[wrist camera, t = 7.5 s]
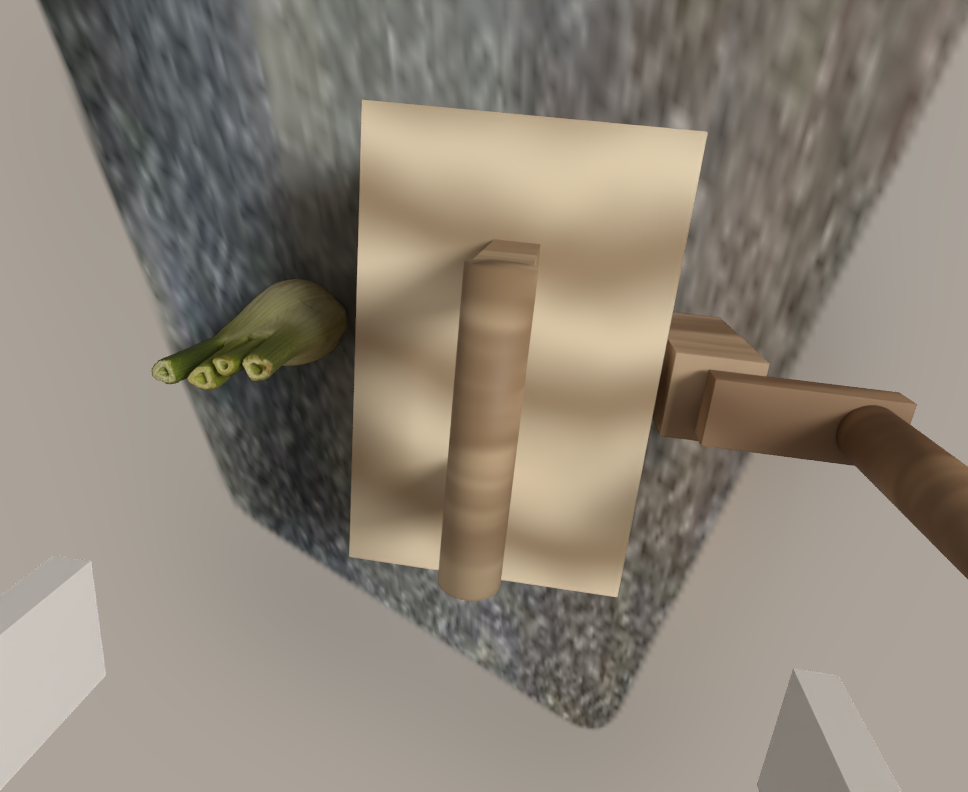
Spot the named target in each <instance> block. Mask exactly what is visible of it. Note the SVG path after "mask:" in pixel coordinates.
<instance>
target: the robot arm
mask: <svg viewBox="0 0 968 792" xmlns="http://www.w3.org/2000/svg"><path fill="white" fill-rule="evenodd" d="M105 675H106V672H105V664H104V656H103V649H102V642H101V633H100V626H99V618H98V611H97V603H96V596H95V587H94V580H93V572H92V565H91V561H89V560H83V559H76V558H70V557H63V556H57V555H53V556H52V557H50V558H49V559H48V560H46V561H45V562H44V563H43V564H41V565H40V566H38V567H37V568H36V569H34V570H33V571H32V572H30V573H29V574H28V575H26V576H25V577H24V578H22V579H21V580H20V581H18V582H17V583H16V584H14V585H13V586H12V587H10V588H9V589H8V590H6V591H5V592H3V593H2V594H1V595H0V790H1V789H2V788H3V787H4V786H5V784H6V783H7V782H8V781H9V780H10V779H11V778H12V777H13V776H14V775H15V774H16V773H17V771H18V770H19V769H20V768H21V767H22V766H23V765H24V764H25V763H26V762H27V760H28V759H29V758H30V757H31V756H32V755H33V754H34V753H35V752H36V751H37V749H38V748H39V747H40V746H41V745H42V744H43V743H44V742H45V741H46V740H47V739H48V738H49V736H50V735H51V734H52V733H53V732H54V731H55V730H56V729H57V728H58V727H59V725H61V723H62V722H63V721H64V720H65V719H66V718H67V717H68V716H69V715H70V713H72V711H73V710H74V709H75V708H76V707H77V706H78V705H79V704H80V703H81V702H82V701H83V699H84V698H85V697H86V696H87V695H88V694H89V693H90V692H91V691H92V690H93V688H94V687H95V686H96V685H97V684H98V683H99V682H100V681H101V680H102V679H103V678H104V676H105ZM757 786H758V789H759V792H902V791H901V789H900V788H899V786H898V784H897V782H896V780H895V778H894V777H893V775H892V773H891V771H890V769H889V767H888V766H887V764H886V762H885V760H884V758H883V757H882V755H881V753H880V751H879V749H878V747H877V745H876V744H875V742H874V740H873V738H872V736H871V735H870V733H869V731H868V729H867V727H866V725H865V724H864V722H863V720H862V718H861V716H860V714H859V713H858V711H857V709H856V707H855V705H854V704H853V701H852V700H851V698H850V696H849V694H848V692H847V691H846V689H845V687H844V685H843V683H842V681H841V680H840V678H839V676H838V675H831V674H826V673H819V672H813V671H806V670H800V669H793V671H792V674H791V678H790V680H789V684H788V687H787V690H786V694H785V697H784V700H783V703H782V706H781V709H780V713H779V716H778V719H777V722H776V725H775V729H774V732H773V735H772V738H771V742H770V745H769V748H768V751H767V754H766V758H765V761H764V764H763V767H762V770H761V774H760V777H759V780H758V783H757Z"/></svg>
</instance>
